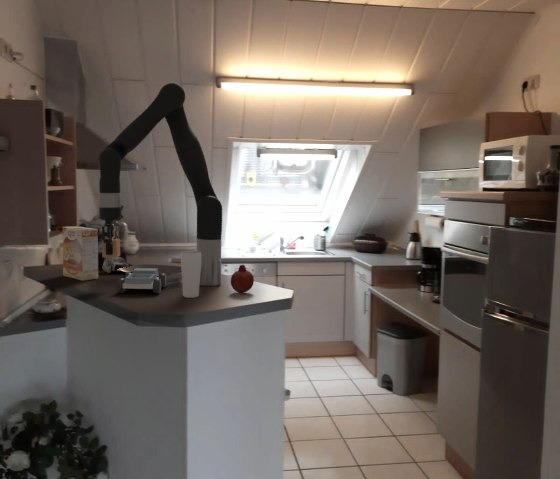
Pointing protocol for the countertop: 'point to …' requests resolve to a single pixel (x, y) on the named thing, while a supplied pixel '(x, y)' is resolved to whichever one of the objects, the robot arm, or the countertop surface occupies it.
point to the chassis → (142, 280)
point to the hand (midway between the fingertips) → (111, 253)
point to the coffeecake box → (80, 253)
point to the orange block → (115, 249)
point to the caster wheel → (114, 264)
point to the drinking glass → (191, 273)
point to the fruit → (242, 280)
